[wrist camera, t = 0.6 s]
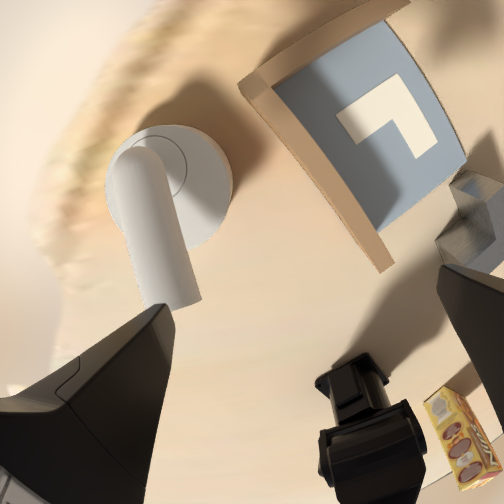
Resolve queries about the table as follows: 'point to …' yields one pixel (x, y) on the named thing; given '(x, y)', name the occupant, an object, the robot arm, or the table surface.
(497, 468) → the candy box
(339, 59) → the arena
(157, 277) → the wall hook
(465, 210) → the bracket
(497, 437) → the table surface
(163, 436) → the table surface
